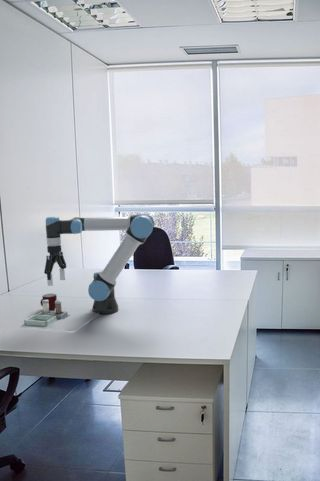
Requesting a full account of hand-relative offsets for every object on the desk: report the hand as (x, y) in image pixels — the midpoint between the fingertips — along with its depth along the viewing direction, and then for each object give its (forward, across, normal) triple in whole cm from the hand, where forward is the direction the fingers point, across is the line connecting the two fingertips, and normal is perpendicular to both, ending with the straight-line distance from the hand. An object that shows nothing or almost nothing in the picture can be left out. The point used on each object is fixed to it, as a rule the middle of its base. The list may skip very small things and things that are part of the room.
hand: (56, 282), depth 264 cm
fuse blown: (+19, 0, 0) cm, 19 cm away
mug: (+21, -11, -13) cm, 27 cm away
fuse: (+19, 0, -8) cm, 21 cm away
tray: (+20, +11, -5) cm, 24 cm away
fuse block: (+20, 0, -4) cm, 21 cm away
